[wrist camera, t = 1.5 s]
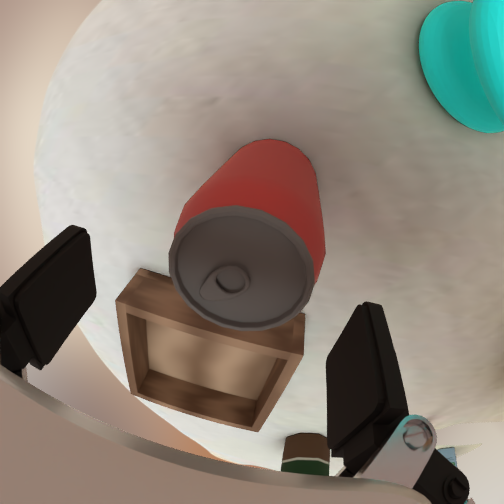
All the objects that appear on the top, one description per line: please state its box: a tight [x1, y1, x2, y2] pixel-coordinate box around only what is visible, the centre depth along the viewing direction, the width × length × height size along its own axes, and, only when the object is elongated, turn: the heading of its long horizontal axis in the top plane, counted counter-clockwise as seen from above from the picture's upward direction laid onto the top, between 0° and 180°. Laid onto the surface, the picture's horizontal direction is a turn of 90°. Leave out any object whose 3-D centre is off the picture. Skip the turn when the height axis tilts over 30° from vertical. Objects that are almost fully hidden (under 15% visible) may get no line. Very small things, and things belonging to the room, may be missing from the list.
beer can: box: [169, 139, 326, 331], centre depth 16 cm, size 7×7×12 cm
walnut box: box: [115, 268, 305, 432], centre depth 29 cm, size 16×16×5 cm
